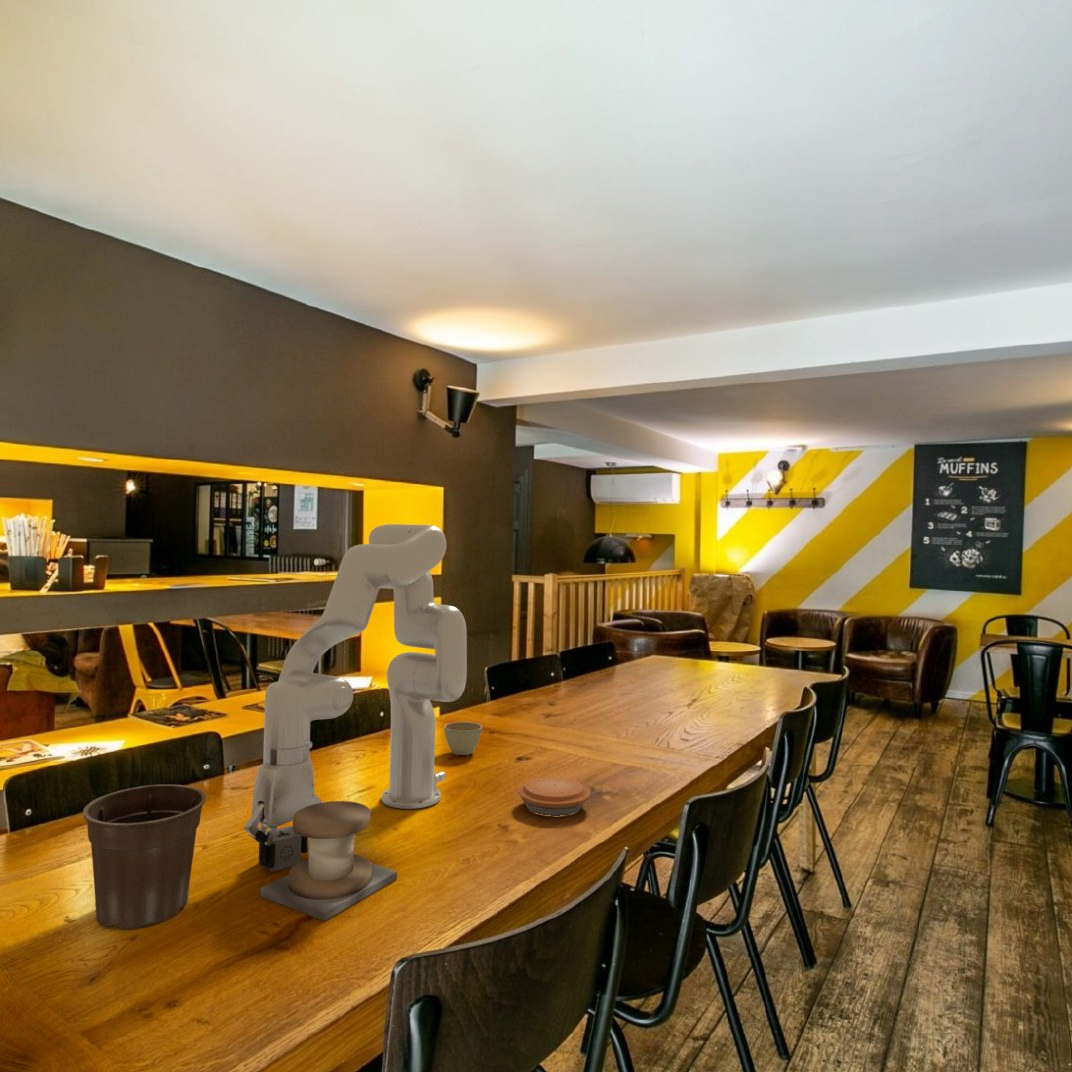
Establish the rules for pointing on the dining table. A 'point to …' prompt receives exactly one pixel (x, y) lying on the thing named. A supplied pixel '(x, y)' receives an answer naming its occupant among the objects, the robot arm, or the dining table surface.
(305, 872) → the bobbin
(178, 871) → the plant pot
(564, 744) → the dining table surface
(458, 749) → the flower pot
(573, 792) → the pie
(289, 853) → the dice cube
